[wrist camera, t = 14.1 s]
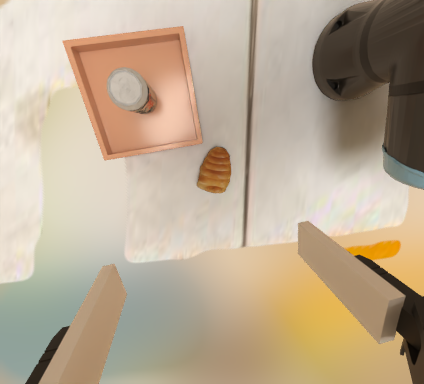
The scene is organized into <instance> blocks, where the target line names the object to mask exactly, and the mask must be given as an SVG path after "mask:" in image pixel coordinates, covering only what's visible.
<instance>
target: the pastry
mask: <svg viewBox="0 0 424 384" xmlns="http://www.w3.org/2000/svg"><path fill="white" fill-rule="evenodd" d="M230 176H231V164H230V156H229V154H228V152H227V151H226V149H224V148H222V147H215V148H214V149H212V150H210V151H209V153H208V155H207V157H206V158H205V159H204V162H203V164H202V166H201V167H200V174H199V179H198V182H197V186H198V187H199V188H200V189H202V190H205V191H208V192H212V193H223V192H225V190H226V187H227V186H228V184H229V182H230Z"/></svg>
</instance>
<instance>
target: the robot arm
mask: <svg viewBox="0 0 424 384" xmlns="http://www.w3.org/2000/svg"><path fill="white" fill-rule="evenodd" d="M313 71H314V76H315V80H316V83H317V85H318V87H319V88H320V90H321V91H322V92H323V93H324V94H325V95H326V96H328V97H329V98H331V99H334V100H350V99H356V98H359V97H362V96H364V95H366V94H368V93H370V92H372V91H373V90H375V89H377V88H379V87H381V86H383V85H384V84H386V83H389V82H390V84H389V95H388V106H387V117H386V126H385V136H384V143H383V145H382V150H383V153H384V156H383V166H384V169H385V171H386V172H387V173H388V174H389V175H390V176H391V177H392V178H393V179H395V180H397V181H399V182H401V183H403V184H406V185H409V186H412V187H415V188H420V189H423V190H424V0H372V1H368V2H363V3H359V4H356V5H353V6H351V7H349V8H348V9H346V10H345V11H343V12H342V13H340V14H339V15H337V16H336V17H335V18H333V19H332V20H331V21H330V22H329V24H328V25H327V26H326V27H325V29H324V30H323V32H322V33H321V35H320V37H319V39H318V42H317V45H316V48H315V52H314V58H313ZM298 254H299V255H300V256H301V257H302V259H303V260H304V261H305V262H306V263H307V264H308V265H309V266H310V268H311V269H312V270H313V271H314V272H315V273H316V274H317V275H318V277H319V278H320V279H321V280H322V281H323V282H324V283H325V284H326V285H327V287H328V288H329V289H330V290H331V291H332V292H333V293H334V294H335V295H336V297H337V298H338V299H339V300H340V301H341V302H342V303H343V304H344V305H345V307H346V308H347V309H348V310H349V311H350V312H351V313H352V314H353V316H354V317H355V318H356V319H357V320H358V321H359V322H360V323H361V324H362V326H363V327H364V328H365V329H366V330H367V331H368V332H369V333H370V334H371V336H372V337H373V338H374V339H375V340H376V341H377V342H378V343H379V344H381V343H385V342H388V341H391V340H394V337H395V334H396V331H397V332H398V333H399V334H400V335H402V336H403V338H404V339H403V342H402V346H401V349H400V355H404V352H405V353H406V357H407V361H408V365H409V369H410V373H411V378H412V382H413V384H424V296H423V297H422V296H421V295H419V294H418V293H416V292H415V291H413V290H412V289H410V288H409V287H408V286H406V285H405V284H404V283H402V282H401V281H399V280H398V279H397V278H395V277H394V276H392V275H391V274H389V273H388V272H387V271H385V270H384V269H383V268H380V266H379V265H377V264H376V263H374V262H373V261H372V260H370V259H368V258H366V257H363V256H361V255H357V256H353V255H352V254H350V253H349V252H348V251H347V250H345V249H344V248H343V247H341V246H340V245H339V244H337V243H336V242H335V241H333V240H332V239H331V238H330V237H328V236H327V235H326V234H324V233H323V232H322V231H321V230H319V229H318V228H317V227H315V226H314V225H313V224H311V223H310V222H309V221H306V222H301V223H298ZM126 296H127V293H126V291H125V288H124V286H123V284H122V281H121V278H120V276H119V274H118V271H117V269H116V266H115V264H111V265H107V266H103V267H102V269H101V270H100V272H99V274H98V276H97V278H96V280H95V281H94V283H93V285H92V287H91V289H90V291H89V292H88V294H87V296H86V298H85V300H84V302H83V303H82V305H81V307H80V309H79V311H78V313H77V314H76V316H75V318H74V320H73V322H72V323H71V325H70V326H68V327H63V328H62V329H61V330H60V331H59V332H58V333H57V334H56V335H55V336H54V337H53V339H52V340H51V342H50V343H49V345H48V347H47V348H46V350H45V353H44V354H43V355H42V357H41V358H40V360H39V363H38V364H37V365H36V367H35V368H34V370H33V372H32V373H31V375H30V377H29V379H28V380H27V382H26V383H25V384H99V381H100V378H101V375H102V372H103V368H104V365H105V362H106V359H107V356H108V353H109V350H110V346H111V343H112V340H113V337H114V334H115V330H116V327H117V324H118V321H119V318H120V315H121V312H122V308H123V305H124V302H125V298H126Z"/></svg>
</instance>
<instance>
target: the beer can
mask: <svg viewBox="0 0 424 384" xmlns="http://www.w3.org/2000/svg"><path fill="white" fill-rule="evenodd" d="M107 92H108V95H109V97H110V99H111V100H112V102H113V103H114V104H115V105H117V106H118V107H120V108H121V109H124V110H127V111H132V112H136V113H140V114H148V113H151V112H152V111H153V110H154V109H155V108H156V105H157V97H156V94H155V92H154V91H153V89H152V88H151V87H150V86H149V85H148V83H147V82H146V81H145V80H144V79H143V77H142V76H141V75H140V74H139V73H138V72H137V71H135V70H133V69H131V68H127V67H121V68H117V69H115V70H114V71H112V72H111V74H110V75H109V77H108V79H107Z"/></svg>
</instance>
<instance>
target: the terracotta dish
mask: <svg viewBox="0 0 424 384" xmlns="http://www.w3.org/2000/svg"><path fill="white" fill-rule="evenodd" d="M63 44H64V47H65V50H66V52H67V55H68V58H69V61H70V64H71V67H72V69H73V72H74V75H75V78H76V81H77V84H78V86H79V89H80V92H81V95H82V97H83V101H84V103H85V106H86V109H87V112H88V115H89V118H90V121H91V123H92V126H93V129H94V132H95V135H96V138H97V140H98V143H99V146H100V149H101V152H102V155H103V158H104V160H110V159H115V158H122V157H127V156H133V155H139V154H144V153H150V152H156V151H162V150H167V149H173V148H179V147H184V146H190V145H196V144H202V143H203V142H202V136H201V130H200V124H199V118H198V112H197V106H196V100H195V94H194V88H193V82H192V76H191V70H190V64H189V58H188V52H187V46H186V40H185V34H184V28H183V26H181V27H173V28H164V29H156V30H148V31H139V32H131V33H123V34H115V35H106V36H98V37H90V38H81V39H73V40H65V41H63ZM121 67H127V68H131V69H133V70H135V71H137V72H138V73H139V74H140V75H141V76H142V77H143V79H144V80H145V81H146V82H147V83H148V85H149V86H150V87H151V88H152V89H153V91H154V92H155V94H156V97H157V105H156V108H155V109H154V110H153V111H152V112H151V113H148V114H140V113H136V112H132V111H127V110H124V109H121V108H120V107H118V106H117V105H115V104H114V103H113V102H112V100H111V99H110V97H109V95H108V92H107V79H108V77H109V75H110V74H111V72H112V71H114V70H115V69H117V68H121Z"/></svg>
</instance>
